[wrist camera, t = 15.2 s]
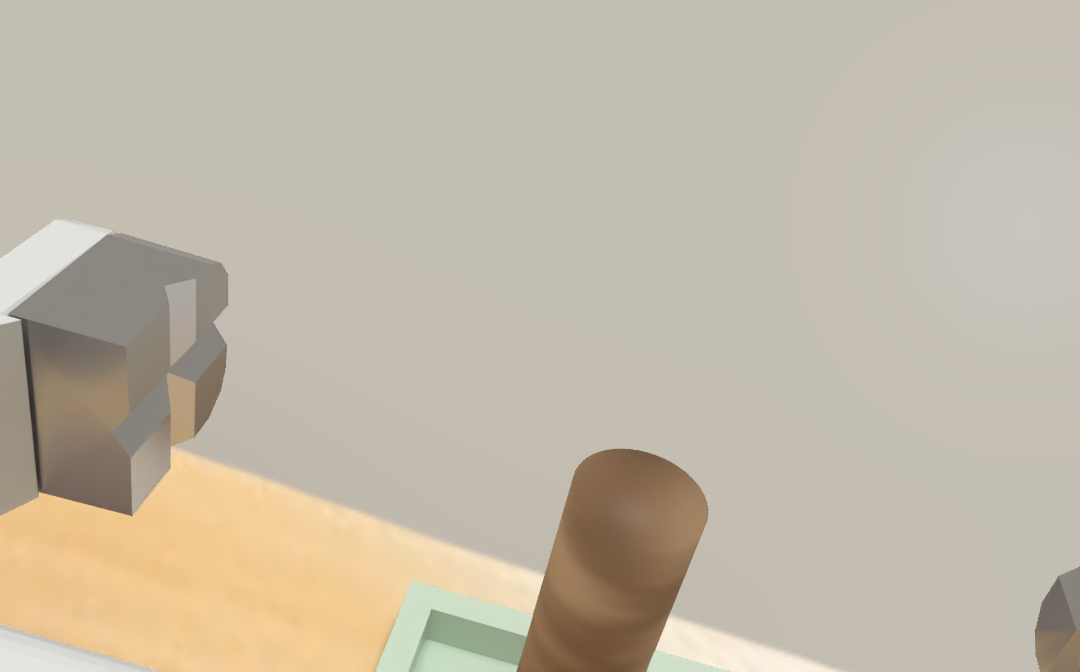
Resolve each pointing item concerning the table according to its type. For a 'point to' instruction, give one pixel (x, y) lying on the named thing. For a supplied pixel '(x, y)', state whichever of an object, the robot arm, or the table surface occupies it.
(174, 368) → the robot arm
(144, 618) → the table surface
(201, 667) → the table surface
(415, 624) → the tray
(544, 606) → the dowel
